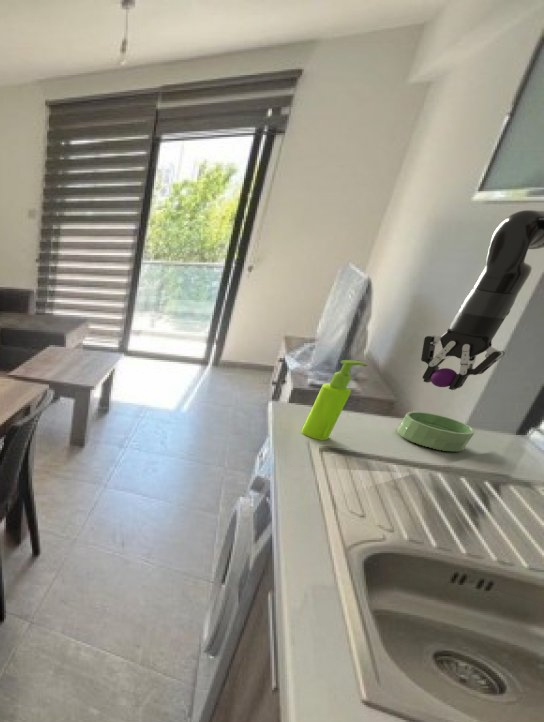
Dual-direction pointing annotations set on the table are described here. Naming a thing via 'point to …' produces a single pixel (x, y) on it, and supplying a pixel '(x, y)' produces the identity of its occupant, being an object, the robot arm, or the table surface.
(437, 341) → the robot arm
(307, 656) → the table surface
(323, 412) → the soap dispenser
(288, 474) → the table surface
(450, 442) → the bowl
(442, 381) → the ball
